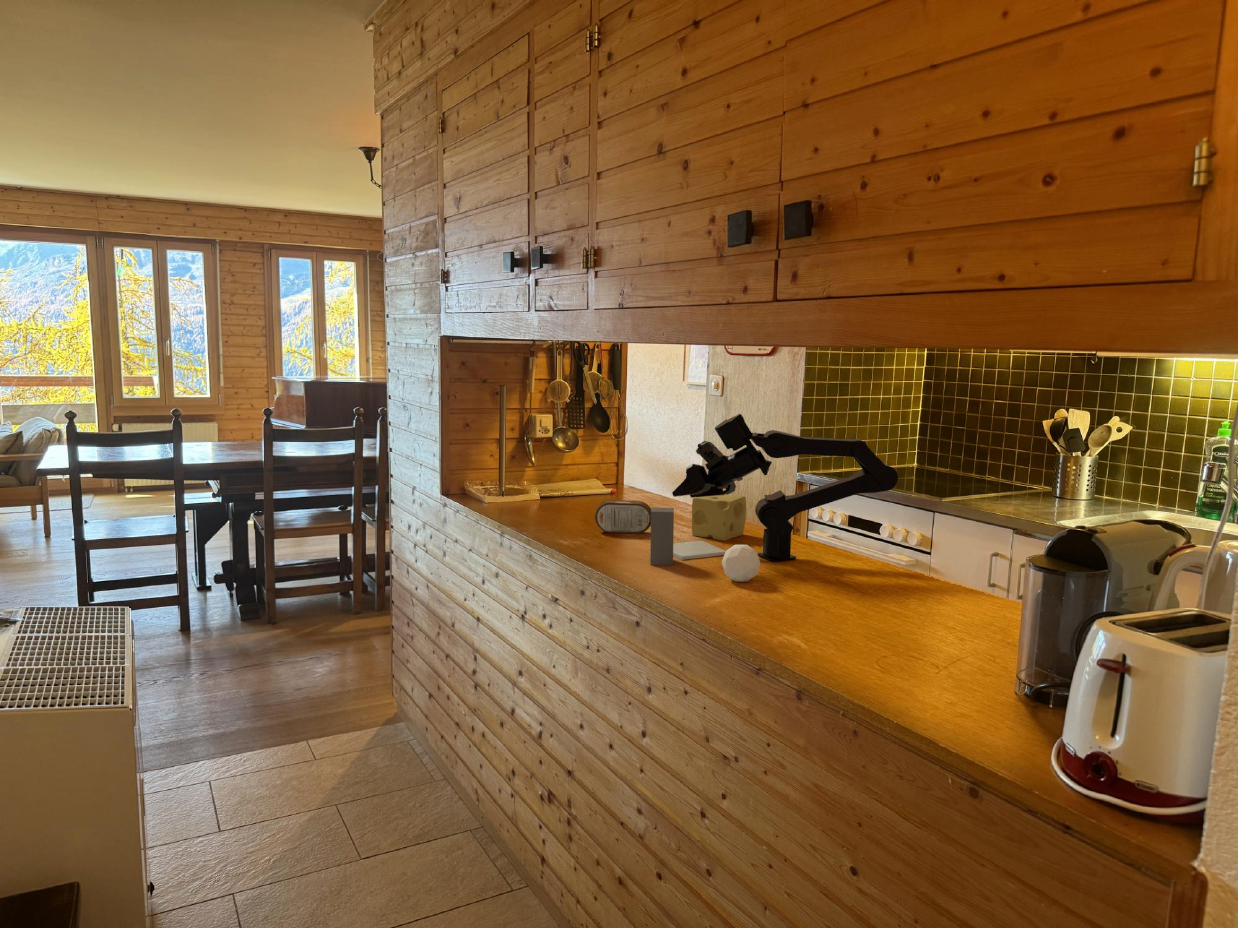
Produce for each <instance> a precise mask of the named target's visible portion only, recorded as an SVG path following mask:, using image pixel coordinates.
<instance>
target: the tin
mask: <svg viewBox="0 0 1238 928" xmlns="http://www.w3.org/2000/svg"><path fill="white" fill-rule="evenodd" d="M594 521H595V524H596V525H597V527H598V528H599V529H600V531H603V532H605V533H609V534H631V535H632V534H636V535H637V534H638V535H639V534H643V533H645V532H646V531H648V530H649V529H650V528H651V506H649V504H648V503H646V502H644V501H641V500H625V499H624V500H619V499H608V500H604V501H602V502H601V503H600V504H599V505H598V506H597V508H596V510H595V514H594Z"/></svg>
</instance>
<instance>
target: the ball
mask: <svg viewBox="0 0 1238 928" xmlns="http://www.w3.org/2000/svg"><path fill="white" fill-rule="evenodd" d="M759 557H760V556H758V551H756V550H755V549H754V548H752V547H751V546H749V545H748V544H734V545H732V546H731V547H729V548H728V549H726V550H725V554H724V555H723V557H722V560H721V565H722V568H723V571H724V574H725V575H726V576H727V577H728V578H730V579H731V580H733V582H737V583H738V582H739V583H740V582H741V583H742V582H744V583H745V582H749V581H750V580H751V579H754V578H755V576H757V575H758V572H759V569H760V566H761V561H760V558H759Z"/></svg>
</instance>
